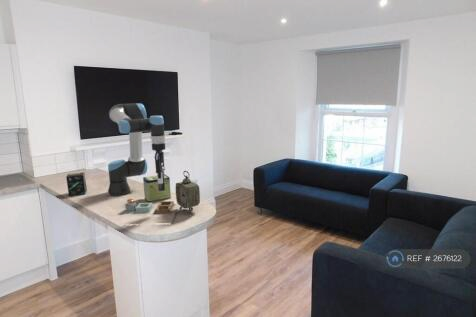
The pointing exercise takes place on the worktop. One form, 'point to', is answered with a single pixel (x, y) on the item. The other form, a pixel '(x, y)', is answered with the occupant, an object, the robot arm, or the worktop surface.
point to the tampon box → (76, 184)
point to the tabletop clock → (187, 193)
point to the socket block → (139, 208)
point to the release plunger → (130, 201)
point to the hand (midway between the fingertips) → (161, 182)
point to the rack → (164, 207)
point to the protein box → (156, 189)
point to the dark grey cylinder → (162, 186)
